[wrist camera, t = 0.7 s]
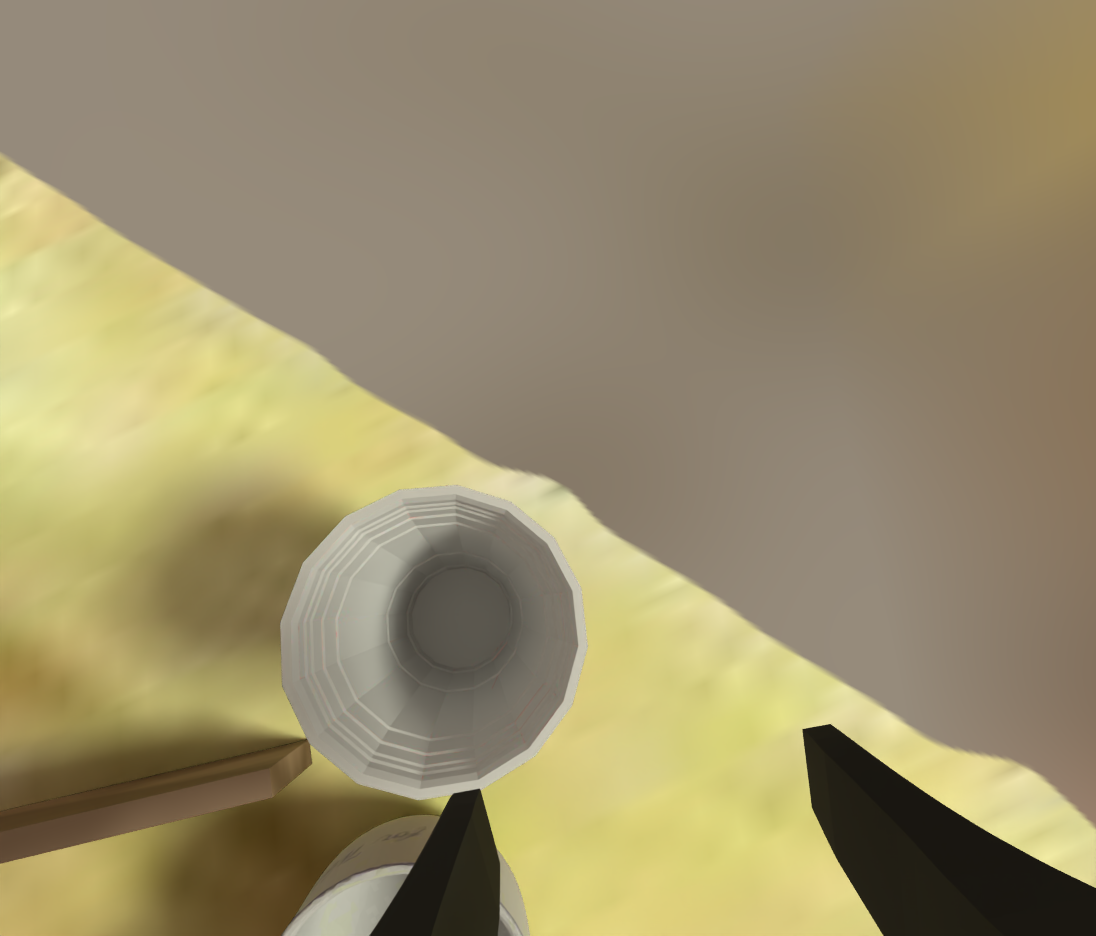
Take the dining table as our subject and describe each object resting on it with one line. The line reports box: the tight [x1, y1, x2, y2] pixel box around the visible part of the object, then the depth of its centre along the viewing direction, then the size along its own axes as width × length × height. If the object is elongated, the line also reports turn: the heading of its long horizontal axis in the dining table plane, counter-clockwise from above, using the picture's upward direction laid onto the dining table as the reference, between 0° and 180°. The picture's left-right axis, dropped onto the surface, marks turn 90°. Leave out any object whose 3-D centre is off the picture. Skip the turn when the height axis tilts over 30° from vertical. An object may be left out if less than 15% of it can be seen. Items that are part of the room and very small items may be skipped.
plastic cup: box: [280, 485, 588, 800], centre depth 26 cm, size 11×11×12 cm
